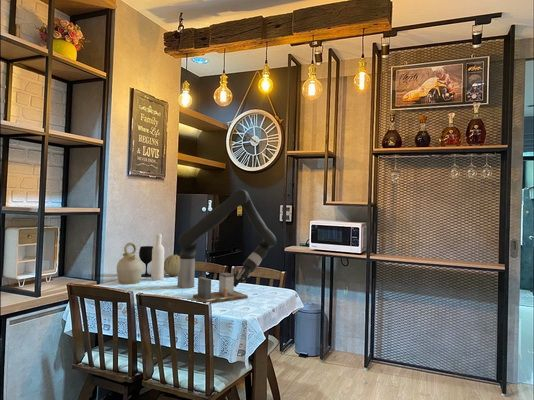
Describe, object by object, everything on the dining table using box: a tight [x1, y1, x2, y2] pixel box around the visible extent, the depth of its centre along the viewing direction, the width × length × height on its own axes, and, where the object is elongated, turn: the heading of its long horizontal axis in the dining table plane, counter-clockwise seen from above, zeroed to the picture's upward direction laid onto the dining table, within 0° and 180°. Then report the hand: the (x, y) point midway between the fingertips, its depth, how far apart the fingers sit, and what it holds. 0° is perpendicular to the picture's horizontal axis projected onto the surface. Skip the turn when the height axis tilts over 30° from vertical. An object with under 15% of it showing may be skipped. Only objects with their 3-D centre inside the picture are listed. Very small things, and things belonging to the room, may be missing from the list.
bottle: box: [150, 233, 165, 281], centre depth 263 cm, size 8×8×30 cm
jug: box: [116, 242, 144, 285], centre depth 250 cm, size 15×16×25 cm
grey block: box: [218, 272, 235, 296], centre depth 218 cm, size 5×10×11 cm, turn 37°
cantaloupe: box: [164, 253, 180, 277], centre depth 277 cm, size 15×15×15 cm
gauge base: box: [192, 289, 249, 304], centre depth 216 cm, size 25×16×2 cm, turn 127°
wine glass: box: [138, 245, 154, 278], centre depth 274 cm, size 10×10×20 cm
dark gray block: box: [197, 276, 212, 299], centre depth 210 cm, size 3×9×10 cm, turn 37°
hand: (233, 285), depth 222 cm, fingers closed
